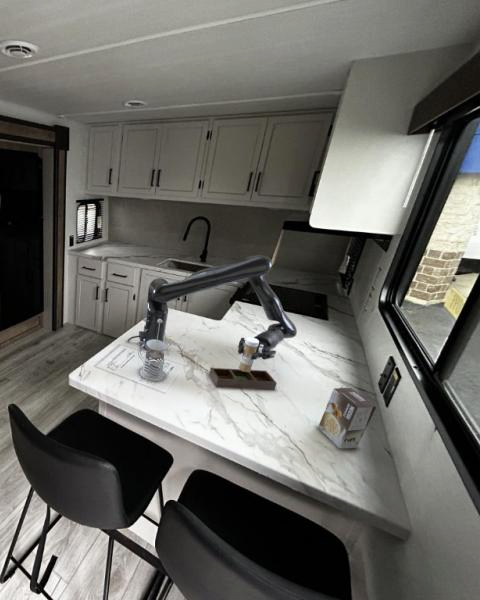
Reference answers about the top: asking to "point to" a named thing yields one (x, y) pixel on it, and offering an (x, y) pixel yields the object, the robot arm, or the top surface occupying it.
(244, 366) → the brown spice jar
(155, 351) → the french press
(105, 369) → the top surface
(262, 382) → the tray
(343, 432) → the coffee box
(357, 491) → the top surface
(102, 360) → the top surface
